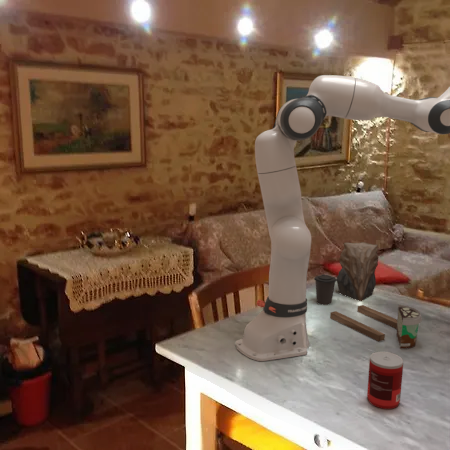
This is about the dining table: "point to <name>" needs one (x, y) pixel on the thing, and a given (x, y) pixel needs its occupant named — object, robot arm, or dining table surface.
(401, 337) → the food container
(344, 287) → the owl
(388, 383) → the canned food
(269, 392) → the dining table surface
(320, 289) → the coffee cup
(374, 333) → the walnut bay
